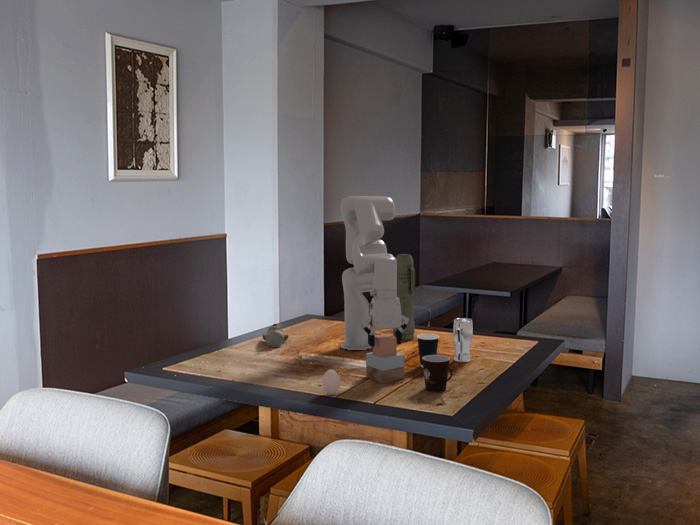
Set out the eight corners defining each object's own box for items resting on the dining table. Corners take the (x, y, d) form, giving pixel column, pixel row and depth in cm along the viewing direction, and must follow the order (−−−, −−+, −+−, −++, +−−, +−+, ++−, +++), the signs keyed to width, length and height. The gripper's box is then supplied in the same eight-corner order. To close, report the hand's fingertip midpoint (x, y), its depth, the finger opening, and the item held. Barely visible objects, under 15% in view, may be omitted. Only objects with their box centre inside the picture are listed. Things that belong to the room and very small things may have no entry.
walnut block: (366, 377, 240) (366, 364, 239) (388, 373, 245) (388, 360, 244) (381, 384, 232) (381, 370, 232) (403, 380, 237) (403, 366, 237)
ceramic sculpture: (260, 326, 278) (262, 321, 293) (260, 348, 279) (262, 342, 294) (288, 326, 279) (288, 321, 294) (288, 348, 279) (288, 341, 294)
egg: (341, 396, 218) (341, 371, 217) (324, 398, 217) (323, 372, 216) (338, 391, 223) (338, 366, 223) (320, 392, 222) (320, 367, 221)
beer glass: (471, 363, 257) (472, 322, 255) (452, 362, 258) (452, 321, 256) (472, 358, 264) (473, 318, 262) (453, 357, 265) (454, 317, 263)
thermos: (399, 334, 303) (400, 252, 299) (421, 338, 295) (422, 254, 291) (385, 337, 297) (386, 254, 293) (407, 342, 289) (407, 256, 285)
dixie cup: (415, 363, 256) (415, 333, 255) (437, 363, 256) (438, 333, 255) (417, 369, 248) (417, 338, 247) (440, 369, 248) (440, 338, 247)
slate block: (366, 365, 239) (366, 353, 239) (386, 360, 244) (386, 349, 244) (382, 370, 232) (383, 358, 231) (404, 366, 237) (404, 354, 237)
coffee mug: (419, 385, 229) (420, 355, 228) (446, 384, 230) (446, 354, 229) (426, 396, 218) (427, 364, 217) (454, 395, 219) (454, 364, 217)
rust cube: (373, 352, 239) (372, 335, 238) (389, 351, 241) (389, 333, 240) (379, 357, 234) (379, 339, 233) (396, 355, 236) (396, 337, 235)
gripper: (365, 297, 228) (365, 349, 230) (413, 294, 234) (413, 344, 237) (356, 294, 235) (356, 344, 237) (403, 290, 241) (403, 340, 243)
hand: (385, 344), depth 237 cm, fingers open, 9 cm apart
